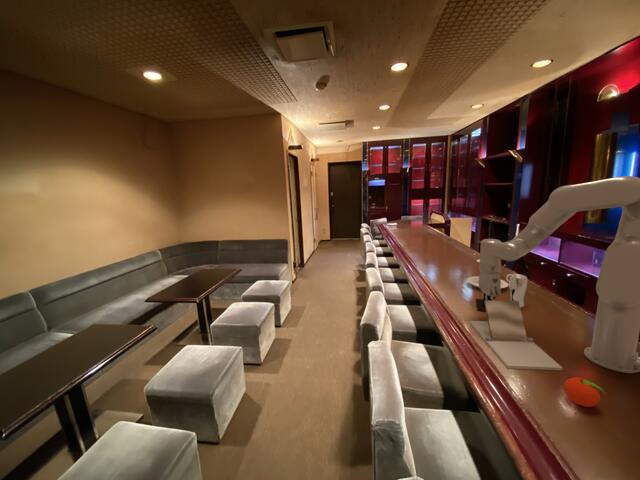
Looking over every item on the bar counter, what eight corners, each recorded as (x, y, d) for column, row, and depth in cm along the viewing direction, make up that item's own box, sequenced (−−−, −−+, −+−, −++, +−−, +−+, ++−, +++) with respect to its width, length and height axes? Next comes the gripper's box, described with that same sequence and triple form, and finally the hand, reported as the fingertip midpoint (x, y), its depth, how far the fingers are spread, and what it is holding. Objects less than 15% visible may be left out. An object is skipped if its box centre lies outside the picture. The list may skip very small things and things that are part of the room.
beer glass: (528, 308, 125) (531, 278, 122) (511, 308, 126) (514, 278, 124) (520, 302, 132) (522, 274, 129) (504, 302, 133) (507, 273, 130)
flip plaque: (525, 338, 98) (527, 338, 97) (490, 337, 100) (492, 337, 99) (516, 301, 103) (518, 300, 102) (484, 300, 105) (485, 300, 104)
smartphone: (491, 300, 135) (494, 312, 122) (491, 301, 135) (494, 314, 122) (475, 298, 138) (477, 310, 125) (475, 299, 138) (477, 311, 125)
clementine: (602, 403, 71) (606, 379, 69) (605, 420, 65) (609, 395, 64) (562, 389, 76) (565, 367, 75) (562, 404, 71) (565, 381, 70)
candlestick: (522, 295, 140) (527, 244, 134) (470, 292, 148) (473, 243, 142) (509, 282, 159) (512, 237, 154) (463, 280, 167) (465, 237, 162)
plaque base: (562, 370, 83) (563, 364, 83) (507, 368, 86) (507, 362, 85) (509, 323, 112) (509, 318, 112) (469, 323, 115) (469, 318, 114)
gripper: (509, 273, 104) (505, 315, 107) (490, 263, 119) (488, 300, 122) (488, 273, 105) (485, 315, 108) (472, 263, 120) (470, 300, 123)
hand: (487, 307), depth 115 cm, fingers closed
